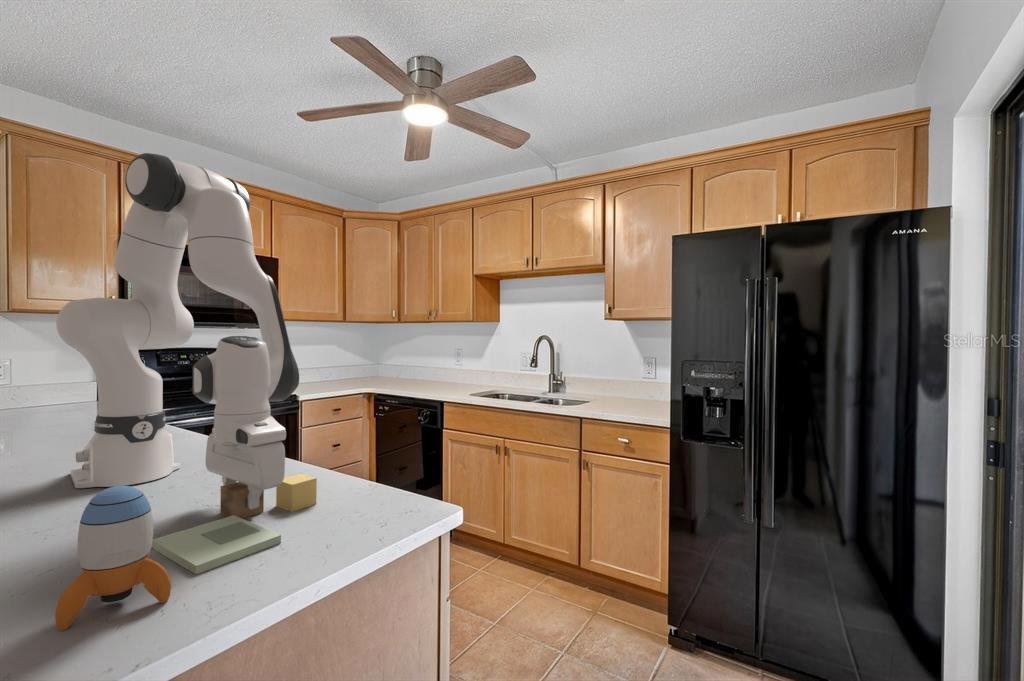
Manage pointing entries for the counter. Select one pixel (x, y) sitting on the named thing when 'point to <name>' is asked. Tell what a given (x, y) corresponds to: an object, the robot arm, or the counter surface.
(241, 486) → the walnut block
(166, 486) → the counter surface
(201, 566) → the plate
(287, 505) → the ochre block
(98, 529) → the toy rocket
